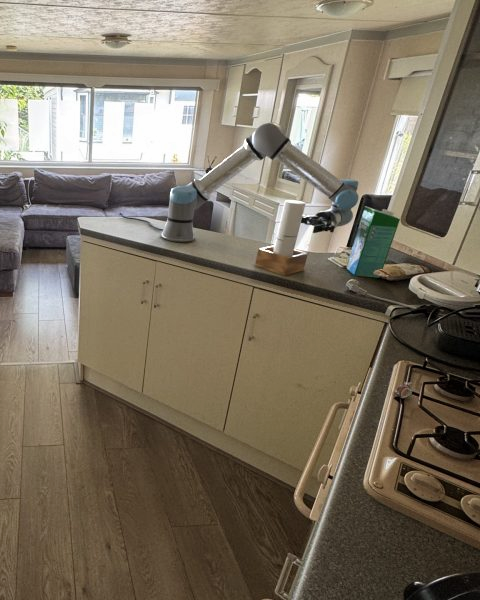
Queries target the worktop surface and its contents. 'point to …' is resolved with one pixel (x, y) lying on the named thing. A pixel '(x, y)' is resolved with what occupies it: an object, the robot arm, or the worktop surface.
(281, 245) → the cylindrical container
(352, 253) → the milk carton
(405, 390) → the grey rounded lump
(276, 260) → the holder
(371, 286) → the worktop surface
